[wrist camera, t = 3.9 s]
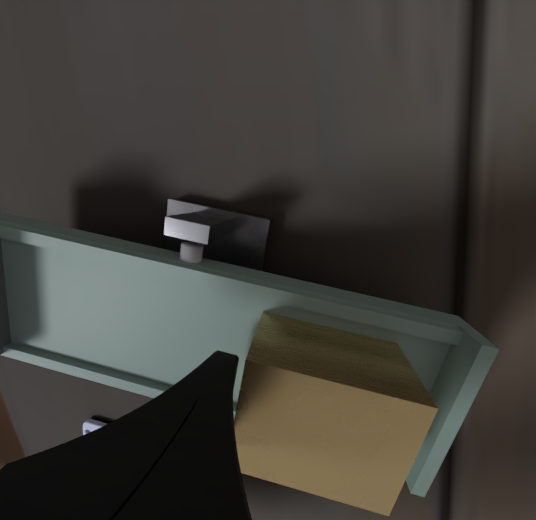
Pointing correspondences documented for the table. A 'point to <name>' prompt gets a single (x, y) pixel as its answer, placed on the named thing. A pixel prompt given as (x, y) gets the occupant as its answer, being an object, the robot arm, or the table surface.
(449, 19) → the table surface
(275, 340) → the block
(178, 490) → the robot arm
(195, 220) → the pivot stand
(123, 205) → the table surface
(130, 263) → the beam
